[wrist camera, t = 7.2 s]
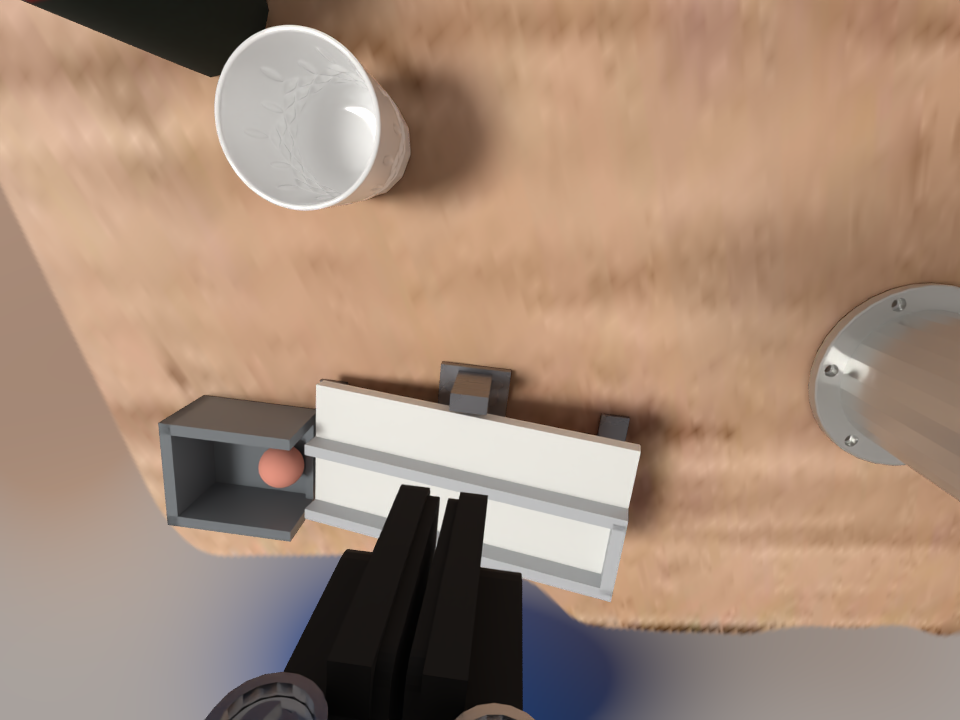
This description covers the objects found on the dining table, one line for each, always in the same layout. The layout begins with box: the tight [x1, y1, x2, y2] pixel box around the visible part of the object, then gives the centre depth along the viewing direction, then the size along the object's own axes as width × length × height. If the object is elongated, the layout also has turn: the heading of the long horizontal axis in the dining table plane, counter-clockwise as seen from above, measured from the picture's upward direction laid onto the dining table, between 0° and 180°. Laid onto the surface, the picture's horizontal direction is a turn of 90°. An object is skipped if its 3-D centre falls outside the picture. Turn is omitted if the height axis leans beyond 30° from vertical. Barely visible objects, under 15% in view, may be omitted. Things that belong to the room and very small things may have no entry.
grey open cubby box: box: [158, 395, 316, 542], centre depth 38 cm, size 9×8×5 cm
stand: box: [320, 362, 630, 441], centre depth 37 cm, size 23×14×5 cm, turn 84°
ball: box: [258, 447, 304, 488], centre depth 39 cm, size 3×3×3 cm
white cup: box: [215, 25, 411, 210], centre depth 29 cm, size 8×8×10 cm
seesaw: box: [305, 380, 641, 602], centre depth 35 cm, size 22×10×2 cm, turn 84°
